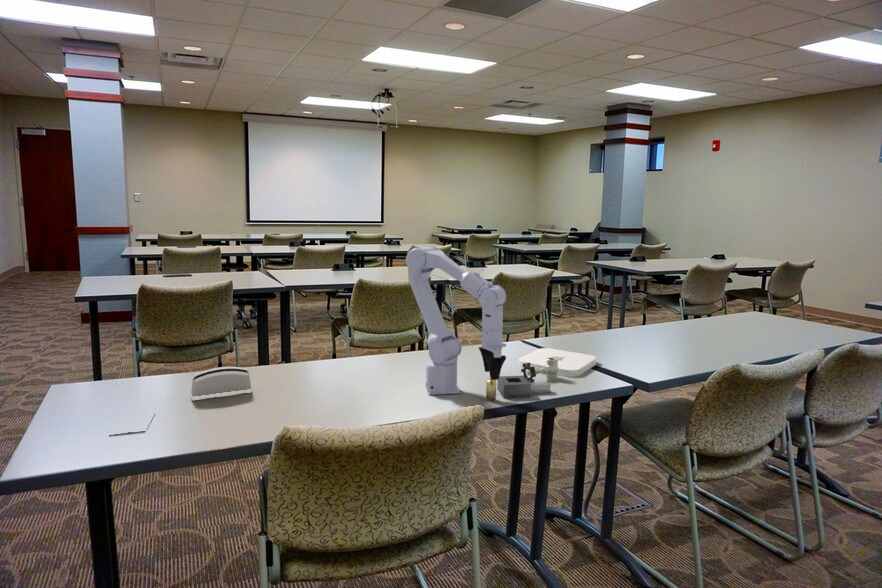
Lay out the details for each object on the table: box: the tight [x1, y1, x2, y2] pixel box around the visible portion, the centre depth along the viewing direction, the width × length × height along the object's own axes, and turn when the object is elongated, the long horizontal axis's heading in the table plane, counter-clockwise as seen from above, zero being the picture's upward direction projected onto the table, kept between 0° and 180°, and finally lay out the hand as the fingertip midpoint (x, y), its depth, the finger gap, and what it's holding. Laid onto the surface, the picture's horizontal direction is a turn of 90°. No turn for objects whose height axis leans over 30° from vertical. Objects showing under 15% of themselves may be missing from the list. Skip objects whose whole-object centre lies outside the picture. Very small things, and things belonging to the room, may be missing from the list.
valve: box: [520, 357, 558, 383], centre depth 177 cm, size 7×7×12 cm
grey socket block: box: [496, 375, 552, 399], centre depth 166 cm, size 15×8×4 cm, turn 97°
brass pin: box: [485, 378, 497, 402], centre depth 159 cm, size 3×3×6 cm
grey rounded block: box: [190, 366, 252, 397], centre depth 162 cm, size 17×5×10 cm, turn 116°
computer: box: [518, 347, 597, 378], centre depth 195 cm, size 22×22×3 cm
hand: (491, 375), depth 158 cm, fingers open, 7 cm apart
